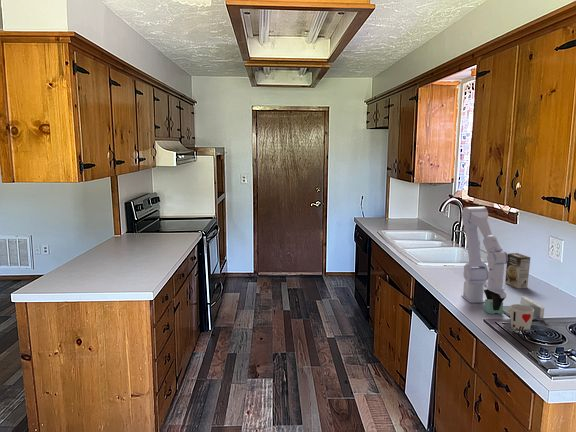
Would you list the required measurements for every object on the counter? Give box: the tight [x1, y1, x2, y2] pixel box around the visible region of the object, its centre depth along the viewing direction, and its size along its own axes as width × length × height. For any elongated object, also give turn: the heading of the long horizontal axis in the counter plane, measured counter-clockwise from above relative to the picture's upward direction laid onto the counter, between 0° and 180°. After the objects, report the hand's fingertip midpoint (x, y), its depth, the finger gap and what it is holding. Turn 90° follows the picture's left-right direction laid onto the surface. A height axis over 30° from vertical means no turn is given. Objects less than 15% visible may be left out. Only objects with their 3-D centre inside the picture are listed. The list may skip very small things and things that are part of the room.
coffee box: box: [504, 252, 531, 289], centre depth 220 cm, size 9×6×16 cm
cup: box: [509, 303, 534, 332], centre depth 167 cm, size 8×8×10 cm
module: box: [483, 298, 504, 315], centre depth 187 cm, size 4×6×5 cm, turn 93°
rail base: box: [502, 295, 545, 320], centre depth 184 cm, size 14×12×6 cm
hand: (493, 307), depth 187 cm, fingers closed on module, 4 cm apart
